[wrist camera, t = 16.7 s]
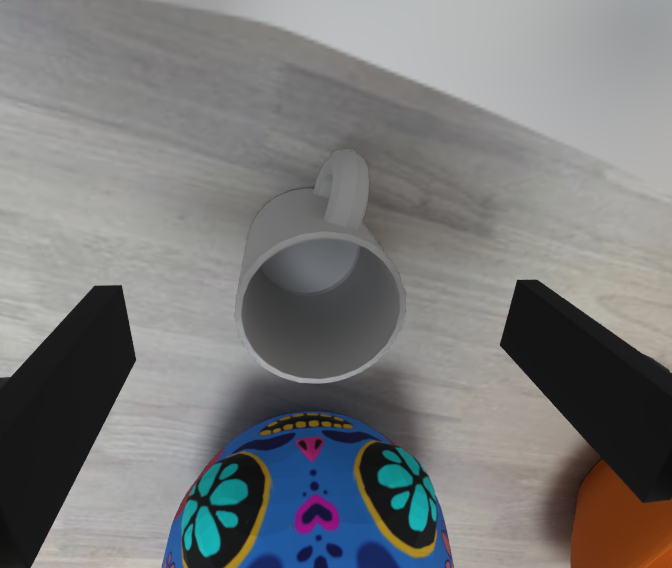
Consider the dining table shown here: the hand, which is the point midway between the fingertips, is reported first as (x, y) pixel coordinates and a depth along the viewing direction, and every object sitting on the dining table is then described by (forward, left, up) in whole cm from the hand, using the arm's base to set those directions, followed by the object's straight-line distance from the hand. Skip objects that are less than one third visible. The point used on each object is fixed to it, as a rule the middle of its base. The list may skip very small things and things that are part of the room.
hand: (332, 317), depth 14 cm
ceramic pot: (+19, 0, -12) cm, 23 cm away
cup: (0, 0, -12) cm, 12 cm away
